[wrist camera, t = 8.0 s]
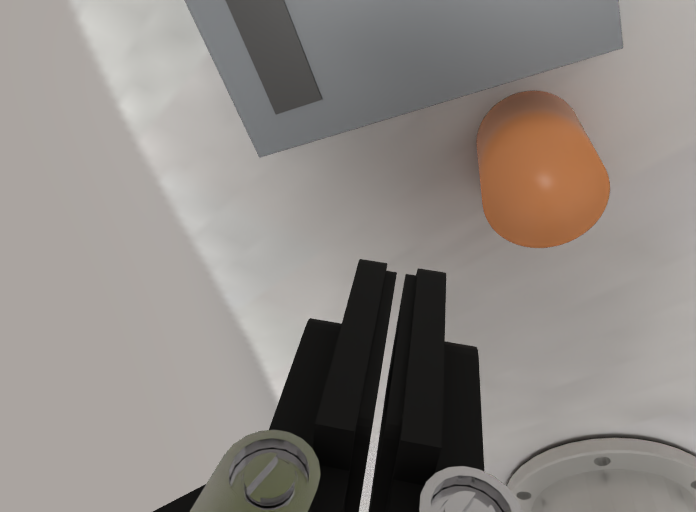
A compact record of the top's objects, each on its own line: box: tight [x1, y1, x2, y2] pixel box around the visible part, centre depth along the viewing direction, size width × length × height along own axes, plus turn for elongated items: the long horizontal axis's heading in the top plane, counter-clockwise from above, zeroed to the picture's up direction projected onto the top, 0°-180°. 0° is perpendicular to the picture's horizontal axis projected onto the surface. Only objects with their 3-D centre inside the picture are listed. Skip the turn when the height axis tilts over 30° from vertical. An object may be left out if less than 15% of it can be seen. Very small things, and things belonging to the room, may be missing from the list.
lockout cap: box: [477, 91, 610, 248], centre depth 20 cm, size 4×4×5 cm
